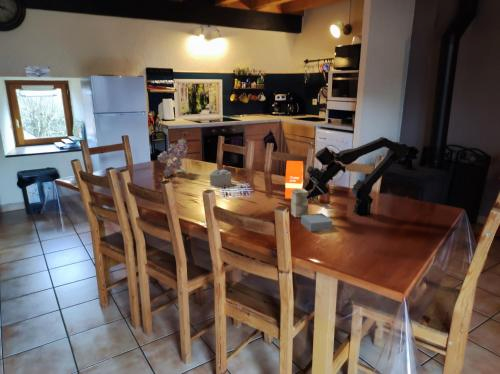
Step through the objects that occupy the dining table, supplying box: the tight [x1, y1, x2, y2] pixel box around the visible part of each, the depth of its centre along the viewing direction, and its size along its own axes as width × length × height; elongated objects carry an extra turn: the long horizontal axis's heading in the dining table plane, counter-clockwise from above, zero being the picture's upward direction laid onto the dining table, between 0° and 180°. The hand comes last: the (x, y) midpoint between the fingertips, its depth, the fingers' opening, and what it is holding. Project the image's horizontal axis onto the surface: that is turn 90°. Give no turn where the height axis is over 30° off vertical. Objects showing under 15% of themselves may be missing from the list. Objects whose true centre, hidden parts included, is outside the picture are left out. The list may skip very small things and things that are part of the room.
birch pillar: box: [290, 188, 309, 218], centre depth 173 cm, size 6×6×12 cm
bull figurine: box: [308, 189, 319, 205], centre depth 191 cm, size 4×13×8 cm, turn 15°
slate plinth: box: [300, 212, 333, 233], centre depth 160 cm, size 10×10×4 cm
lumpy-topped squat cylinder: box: [209, 168, 232, 187], centre depth 227 cm, size 10×13×9 cm
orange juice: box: [284, 160, 304, 200], centre depth 199 cm, size 8×9×20 cm
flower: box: [157, 138, 188, 177], centre depth 252 cm, size 20×22×25 cm
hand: (304, 195), depth 172 cm, fingers open, 9 cm apart
